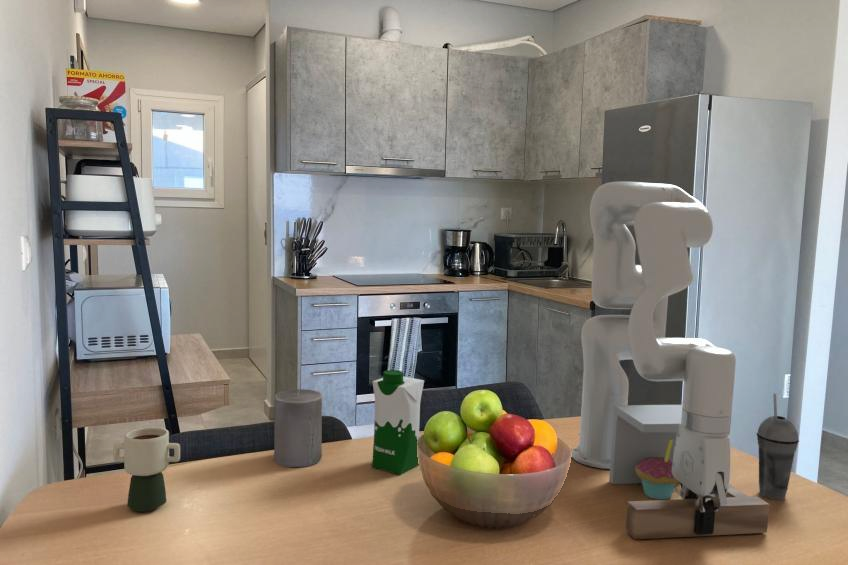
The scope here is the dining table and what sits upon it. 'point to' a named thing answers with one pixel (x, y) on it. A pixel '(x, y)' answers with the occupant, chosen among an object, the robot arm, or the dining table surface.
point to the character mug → (146, 465)
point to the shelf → (641, 437)
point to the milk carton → (396, 422)
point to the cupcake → (657, 475)
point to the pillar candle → (298, 428)
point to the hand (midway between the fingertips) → (696, 526)
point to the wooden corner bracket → (680, 516)
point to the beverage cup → (776, 454)
